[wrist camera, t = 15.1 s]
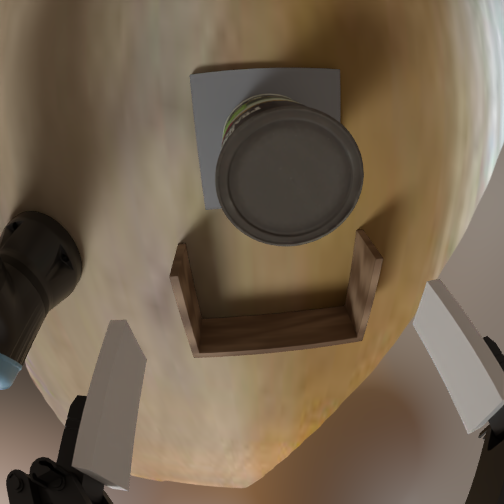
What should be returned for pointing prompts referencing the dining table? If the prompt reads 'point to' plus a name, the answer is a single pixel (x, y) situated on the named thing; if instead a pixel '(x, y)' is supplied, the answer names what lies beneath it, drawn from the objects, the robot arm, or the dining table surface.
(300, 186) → the coffee can
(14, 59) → the dining table surface
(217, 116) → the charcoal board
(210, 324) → the walnut u-shaped frame
